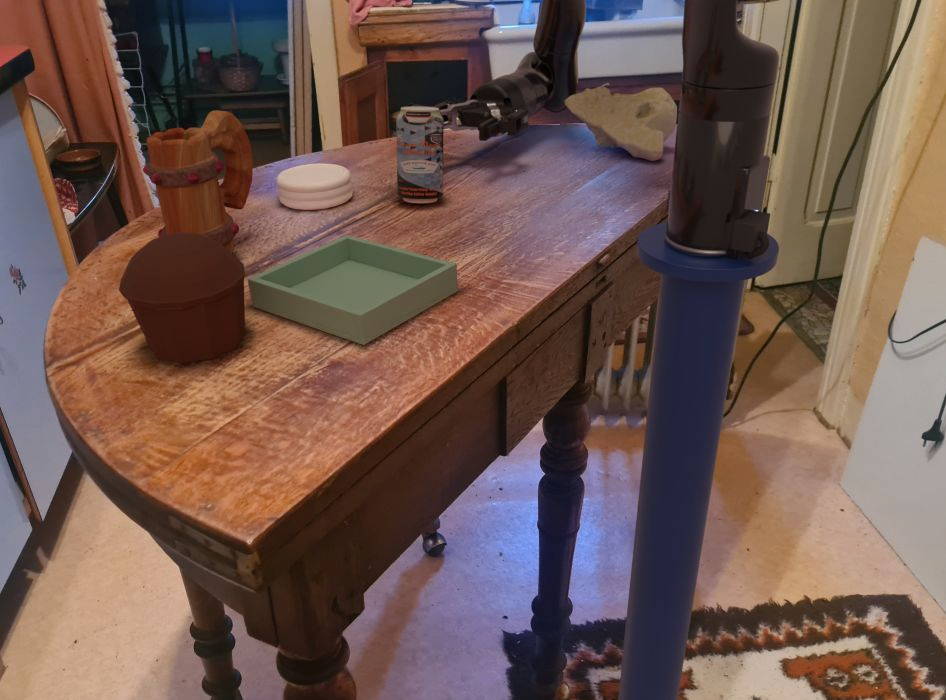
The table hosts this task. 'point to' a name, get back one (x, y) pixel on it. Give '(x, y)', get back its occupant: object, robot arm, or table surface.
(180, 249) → the muffin
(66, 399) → the table surface
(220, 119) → the mug
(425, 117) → the beverage can
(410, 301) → the tray
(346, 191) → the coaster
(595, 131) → the cheese
